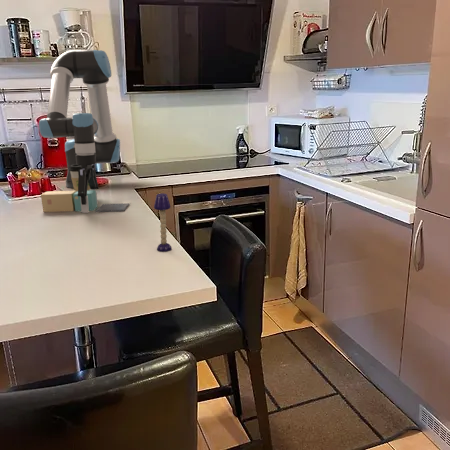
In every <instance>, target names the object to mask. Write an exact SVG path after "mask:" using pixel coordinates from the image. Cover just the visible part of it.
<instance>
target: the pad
mask: <svg viewBox="0 0 450 450" xmlns="http://www.w3.org/2000/svg"><path fill="white" fill-rule="evenodd" d="M129 206H130V202H129V203H128V202H125V203H124V202H122V203H102V204H101V205H100V206H98V207H97V208H96V209H95V210H94V211H95V213H112V212H114V213H115V212H125V210H127V208H128V207H129Z"/></svg>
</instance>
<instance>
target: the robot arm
mask: <svg viewBox="0 0 450 450" xmlns="http://www.w3.org/2000/svg"><path fill="white" fill-rule="evenodd" d="M50 68H51V69H50V75H49V76H50V79H51V84H50V92H49V97H48V98H49V99H48V106H47V107H48V108H47V114H46V118H40V120H39V122H38V128H39V132H40V133H39V134H40V135H41V137H43V138H47V139H49V138H50V139H54V138H72V137H73V138H74V139H69V140H66V142H64V152H65V160H66V167H67V173H66V174H67V175H66V179H65V187H66V188H69V189H70V188H72V189H74V187H73V183H72V179H71V173H70V171H69V169H70V166H71V165H75V164H77V165H81V170H78V196H80V200H81V211H80V212H81V214H82V213H83V214H84V213H85V214H86V213H90V211H89V205H88V196H87V188H88V183H89V186H90V190H89V191H92V190H95V192H96V201H97V206H98V195H97V194H98V192H97V190H99V188H100V187H99V184H98V183H99V182H98V178H97V173H96V167H95V165H96V164H97V165H98V164H115V163H118V162H119V161H120V158H121V157H120V156H121V155H120V154H121V140H120V139H119V138H117V135H116V134H115V133H113V126H112V120H111V113H110V105H109V96H108V89H107V84H108V83H109V81H110V80H109V78H111V77H112V69H111V63H110V60H109V56H108V54H107V53H106V51H105V50H99V49H85V50H82V49H81V50H68V51H65V52H63V53H62V54H60V55H59V56H58V57H57V58H56V59H55V60H54V62H53V63H52V66H51V67H50ZM74 79H82V83H83V84H84V85H85V86H86V87H87V89H86V90H87V94H88V101H89V108H90V112H76V113H73V114H72V117H67V116H68V108H69V107H68V106H69V98H70V91H71V84H72V83H73V81H74Z"/></svg>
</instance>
